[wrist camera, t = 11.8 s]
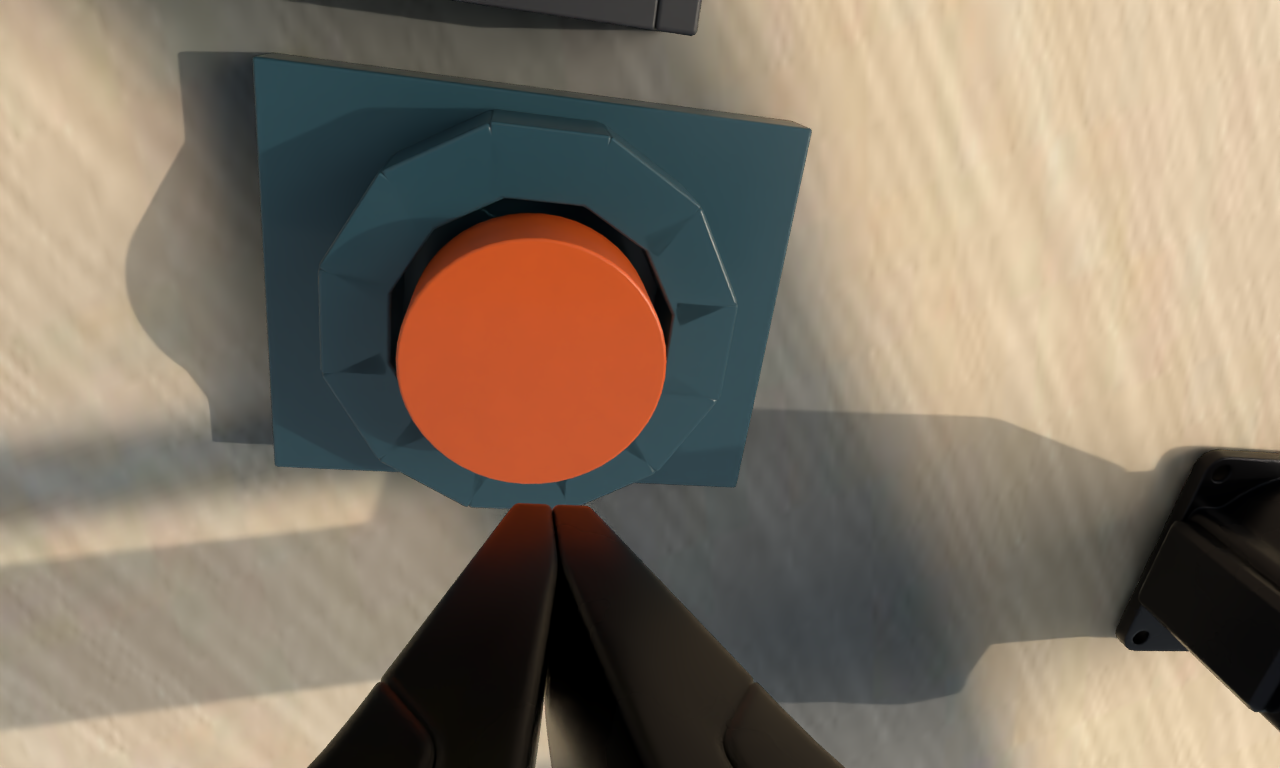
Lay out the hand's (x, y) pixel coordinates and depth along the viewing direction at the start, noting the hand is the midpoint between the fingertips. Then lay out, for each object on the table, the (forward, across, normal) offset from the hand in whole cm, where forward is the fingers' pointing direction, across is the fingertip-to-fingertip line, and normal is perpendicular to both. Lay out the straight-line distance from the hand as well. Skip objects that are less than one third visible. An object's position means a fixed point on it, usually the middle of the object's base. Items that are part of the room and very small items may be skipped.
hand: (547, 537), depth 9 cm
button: (+6, 0, 0) cm, 6 cm away
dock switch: (+9, 0, 0) cm, 9 cm away
